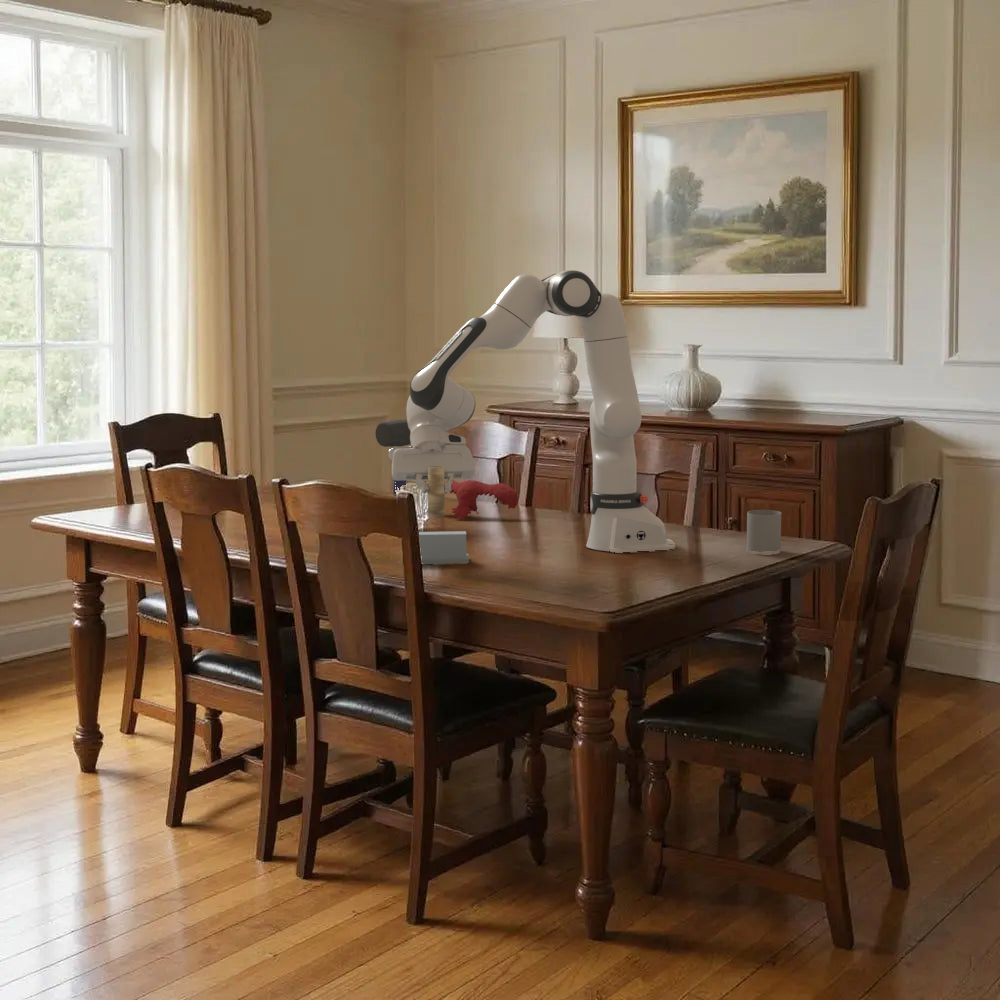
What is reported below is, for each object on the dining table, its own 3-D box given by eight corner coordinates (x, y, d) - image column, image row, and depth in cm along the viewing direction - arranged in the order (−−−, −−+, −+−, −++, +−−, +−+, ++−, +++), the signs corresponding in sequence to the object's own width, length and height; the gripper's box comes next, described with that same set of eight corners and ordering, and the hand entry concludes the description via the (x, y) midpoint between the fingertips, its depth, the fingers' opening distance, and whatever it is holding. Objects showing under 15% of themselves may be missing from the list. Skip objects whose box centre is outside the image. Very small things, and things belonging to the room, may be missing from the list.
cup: (784, 550, 348) (785, 511, 347) (776, 556, 341) (777, 516, 339) (751, 548, 352) (751, 509, 350) (742, 553, 344) (743, 513, 343)
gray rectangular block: (468, 558, 340) (467, 530, 339) (468, 563, 333) (468, 535, 332) (406, 559, 340) (406, 531, 338) (406, 564, 333) (405, 536, 332)
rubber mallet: (393, 531, 379) (391, 421, 375) (374, 528, 384) (372, 419, 380) (426, 525, 388) (424, 418, 384) (408, 522, 393) (406, 416, 389)
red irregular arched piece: (512, 536, 396) (525, 492, 404) (502, 517, 389) (516, 474, 396) (423, 529, 407) (438, 487, 415) (412, 511, 400) (428, 469, 408)
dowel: (444, 515, 337) (444, 466, 335) (444, 518, 333) (444, 468, 331) (428, 515, 337) (427, 466, 335) (428, 518, 333) (427, 468, 331)
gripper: (388, 439, 336) (394, 484, 329) (471, 437, 341) (479, 481, 333) (386, 455, 341) (392, 500, 333) (467, 453, 346) (475, 497, 338)
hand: (436, 491), depth 333 cm, fingers closed on dowel, 4 cm apart
